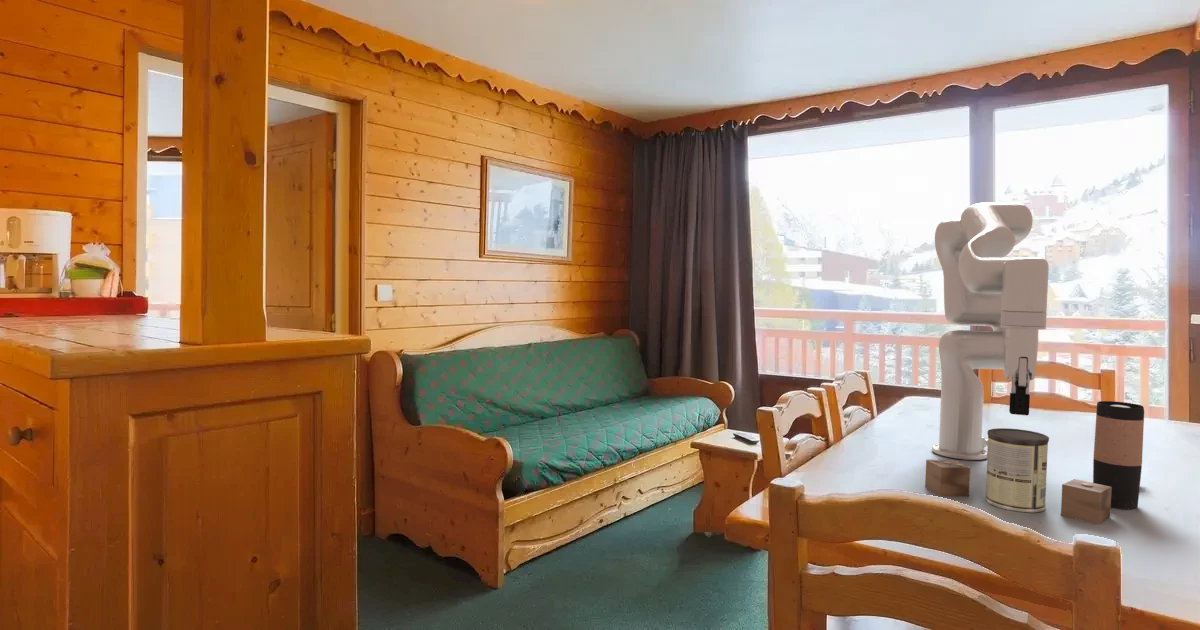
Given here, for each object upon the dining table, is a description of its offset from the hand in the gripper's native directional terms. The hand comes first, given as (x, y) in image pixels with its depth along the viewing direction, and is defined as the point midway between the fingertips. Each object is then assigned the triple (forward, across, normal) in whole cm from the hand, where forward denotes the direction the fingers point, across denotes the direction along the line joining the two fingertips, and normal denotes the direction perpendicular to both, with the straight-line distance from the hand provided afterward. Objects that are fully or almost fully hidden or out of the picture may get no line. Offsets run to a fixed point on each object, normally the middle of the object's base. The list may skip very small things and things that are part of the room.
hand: (1018, 413), depth 132 cm
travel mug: (+18, -11, +18) cm, 28 cm away
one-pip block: (+18, +1, +11) cm, 21 cm away
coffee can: (+18, 0, 0) cm, 18 cm away
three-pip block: (+18, -2, -12) cm, 22 cm away
